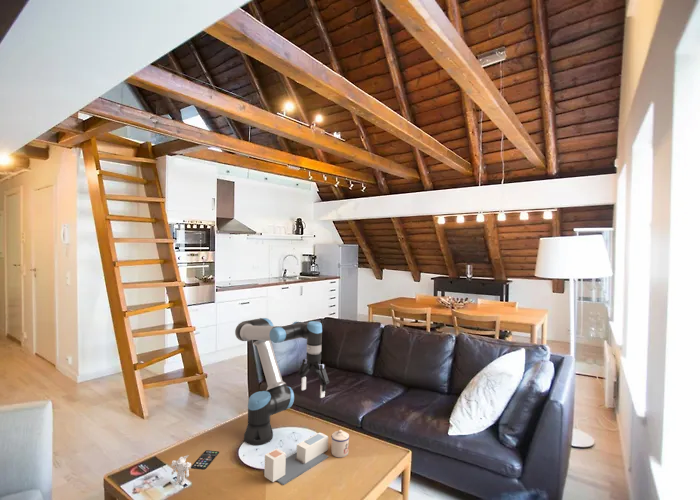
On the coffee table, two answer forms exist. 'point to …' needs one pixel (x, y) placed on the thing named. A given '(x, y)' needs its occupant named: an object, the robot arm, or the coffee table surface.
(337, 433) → the teacup with lid
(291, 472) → the mat
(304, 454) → the cream long box
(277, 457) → the box with pink panel
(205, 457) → the smartphone
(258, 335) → the robot arm
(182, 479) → the hat wearing toy figure
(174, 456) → the coffee table surface
